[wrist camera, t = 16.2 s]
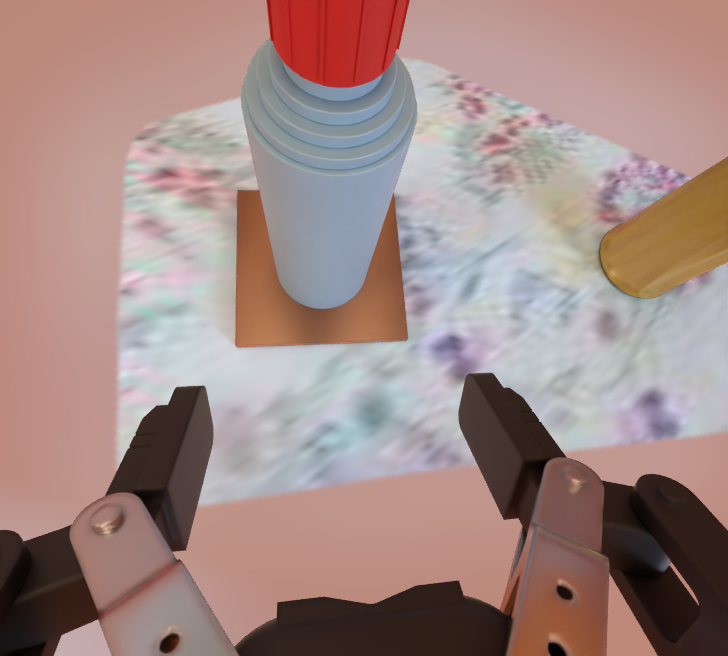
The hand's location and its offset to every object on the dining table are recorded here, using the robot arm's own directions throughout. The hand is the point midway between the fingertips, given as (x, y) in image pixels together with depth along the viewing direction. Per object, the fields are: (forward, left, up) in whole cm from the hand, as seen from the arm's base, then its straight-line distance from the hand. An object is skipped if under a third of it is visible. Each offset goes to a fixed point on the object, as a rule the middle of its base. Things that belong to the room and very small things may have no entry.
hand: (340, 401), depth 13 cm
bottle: (0, -10, -13) cm, 16 cm away
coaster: (0, -10, -13) cm, 17 cm away
